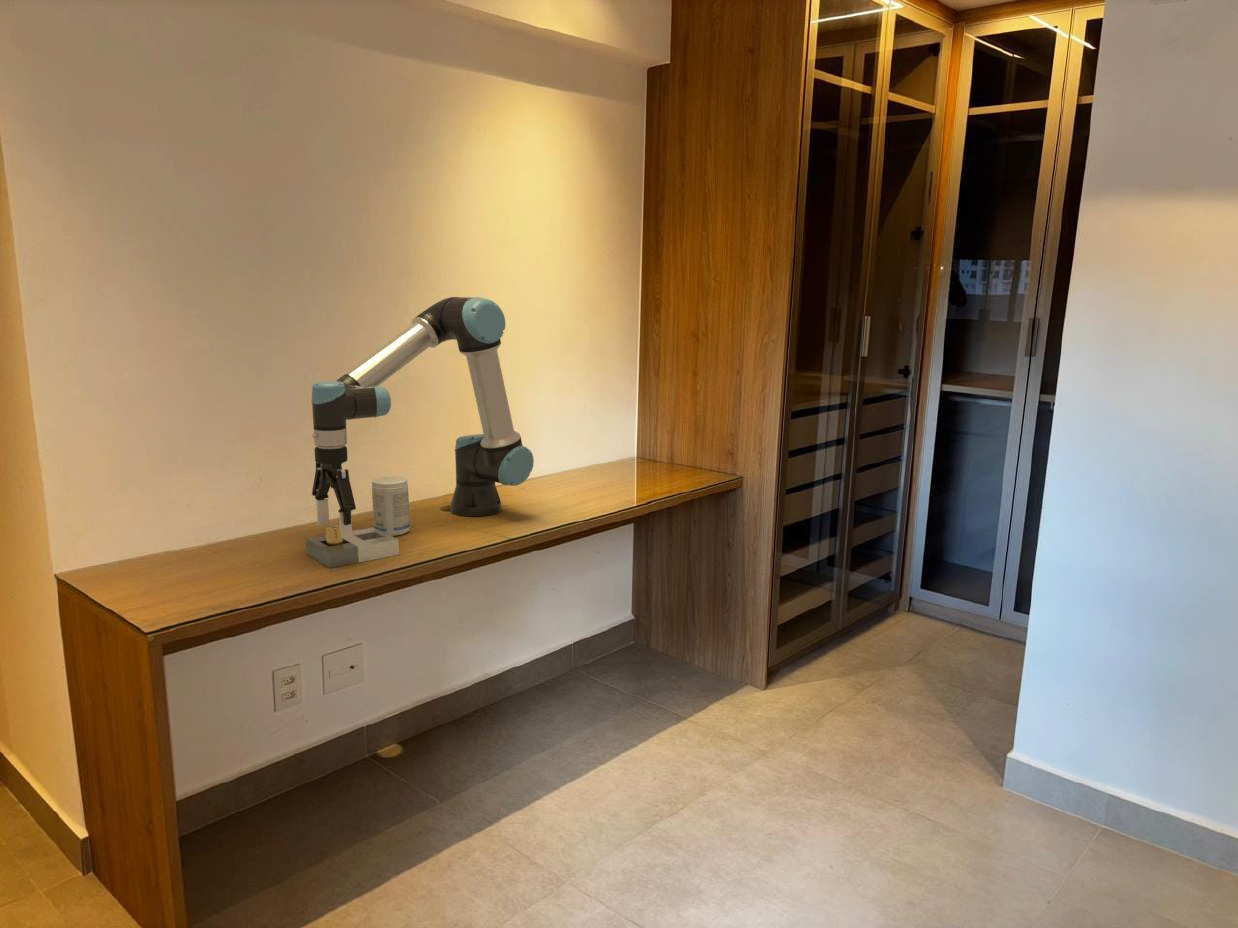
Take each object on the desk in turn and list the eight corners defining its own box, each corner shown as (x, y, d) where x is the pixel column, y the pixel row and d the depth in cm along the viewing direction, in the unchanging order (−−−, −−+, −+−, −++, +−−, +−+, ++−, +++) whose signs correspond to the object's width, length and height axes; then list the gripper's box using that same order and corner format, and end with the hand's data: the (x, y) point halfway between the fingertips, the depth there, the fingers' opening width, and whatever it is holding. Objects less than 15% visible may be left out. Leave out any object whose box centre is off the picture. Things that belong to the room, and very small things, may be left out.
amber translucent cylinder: (340, 554, 224) (338, 523, 222) (346, 558, 221) (345, 526, 219) (324, 557, 221) (322, 526, 219) (330, 561, 218) (329, 529, 216)
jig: (374, 542, 235) (373, 527, 234) (398, 554, 224) (398, 539, 223) (306, 554, 223) (305, 538, 222) (329, 568, 213) (328, 551, 212)
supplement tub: (409, 526, 250) (408, 475, 247) (410, 536, 241) (409, 482, 238) (373, 528, 248) (371, 476, 245) (373, 537, 239) (371, 484, 236)
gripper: (295, 440, 222) (300, 522, 226) (337, 455, 204) (341, 545, 208) (324, 437, 227) (328, 518, 231) (368, 452, 208) (371, 539, 213)
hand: (334, 531), depth 220 cm, fingers open, 13 cm apart
